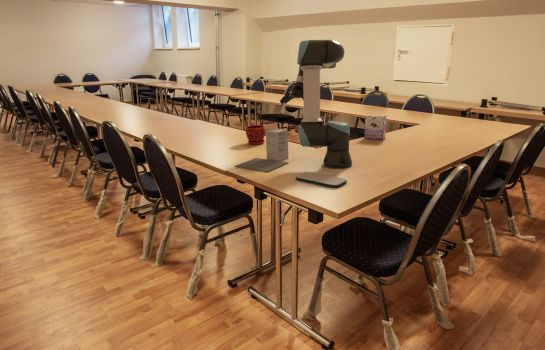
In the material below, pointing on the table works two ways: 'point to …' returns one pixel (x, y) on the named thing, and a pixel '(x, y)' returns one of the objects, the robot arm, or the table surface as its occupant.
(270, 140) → the supplement box
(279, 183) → the table surface
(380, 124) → the candy box
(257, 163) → the grey rubber mat
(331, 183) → the external hard drive
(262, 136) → the plant pot
